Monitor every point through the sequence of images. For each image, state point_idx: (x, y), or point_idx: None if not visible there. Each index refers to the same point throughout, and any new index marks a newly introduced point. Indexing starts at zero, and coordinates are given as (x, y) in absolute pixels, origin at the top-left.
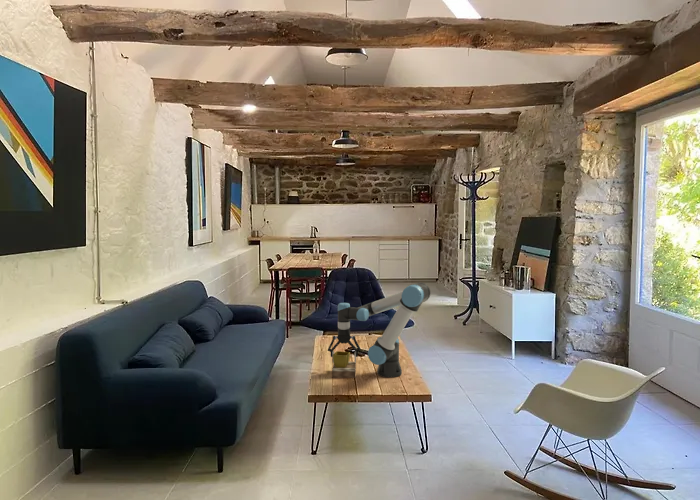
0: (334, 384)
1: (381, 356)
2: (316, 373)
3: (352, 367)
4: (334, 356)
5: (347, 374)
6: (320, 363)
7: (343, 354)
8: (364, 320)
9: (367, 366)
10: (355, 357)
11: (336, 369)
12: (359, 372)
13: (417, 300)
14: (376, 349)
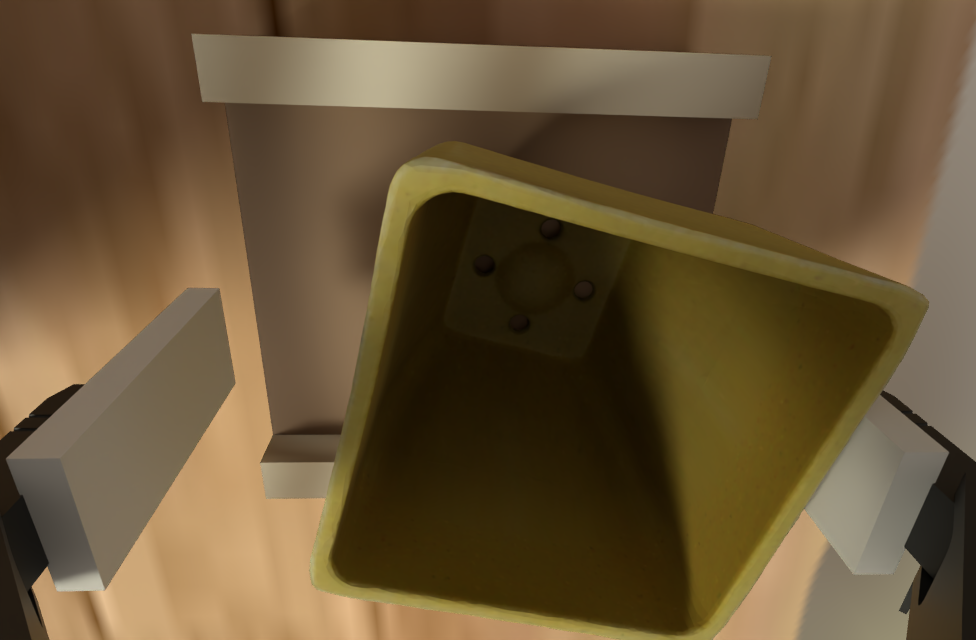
0: None
1: None
2: (908, 270)
3: (313, 293)
4: (841, 264)
5: (405, 41)
6: (771, 620)
7: (510, 544)
8: None
9: (158, 547)
10: (130, 353)
11: (660, 52)
12: (230, 316)
13: None
14: None
